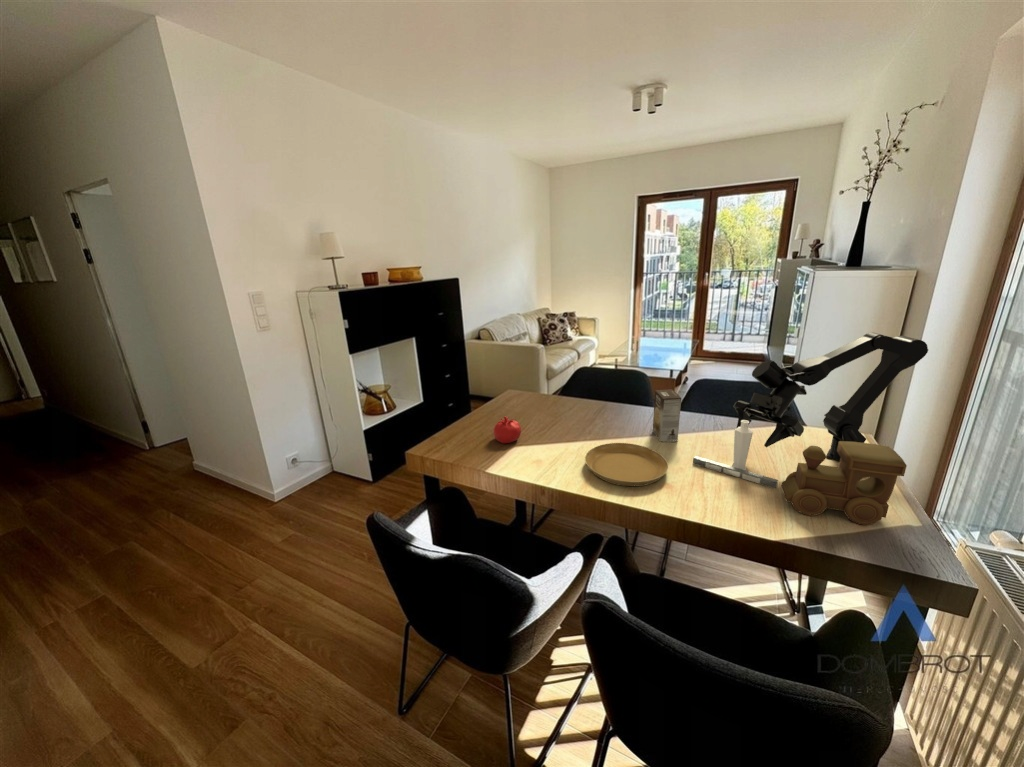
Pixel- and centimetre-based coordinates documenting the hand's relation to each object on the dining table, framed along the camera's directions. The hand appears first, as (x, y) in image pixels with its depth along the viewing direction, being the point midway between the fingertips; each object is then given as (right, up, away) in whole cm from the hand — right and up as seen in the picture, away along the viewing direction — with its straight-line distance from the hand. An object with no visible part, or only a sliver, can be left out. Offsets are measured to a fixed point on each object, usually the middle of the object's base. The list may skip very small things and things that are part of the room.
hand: (750, 440), depth 118 cm
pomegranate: (-72, -4, +28) cm, 77 cm away
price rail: (-6, -10, -2) cm, 11 cm away
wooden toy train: (+9, -15, -19) cm, 25 cm away
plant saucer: (-35, -10, +4) cm, 37 cm away
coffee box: (-16, -2, +24) cm, 29 cm away
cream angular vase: (-3, -9, +1) cm, 9 cm away
